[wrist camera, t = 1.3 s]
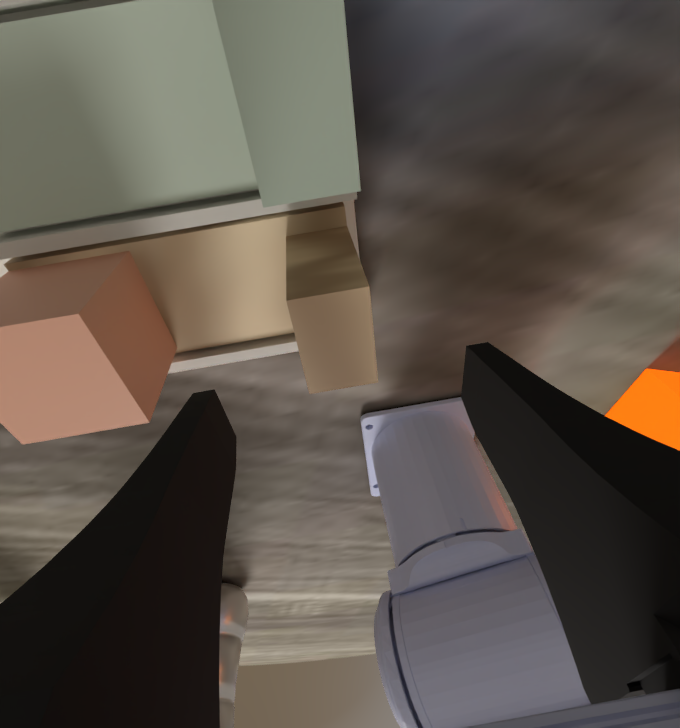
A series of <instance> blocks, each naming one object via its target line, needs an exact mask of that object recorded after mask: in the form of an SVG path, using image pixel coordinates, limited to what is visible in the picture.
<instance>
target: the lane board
mask: <svg viewBox="0 0 680 728" xmlns="http://www.w3.org/2000/svg"><path fill="white" fill-rule="evenodd" d="M131 1H137V0H0V23H5V22H11V21H17V20H23V19H29V18H35V17H41V16H47V15H53V14H59V13H65V12H71V11H77V10H83V9H89V8H95V7H101V6H107V5H113V4H119V3H125V2H131ZM355 199H357V192H353V193H347V194H341V195H335V196H329V197H323V198H317V199H312V200H306V201H300V202H294V203H288V204H282V205H276V206H270V207H264V208H263V205H262V201H261V197H260V193H259V189H253V190H248V191H242V192H236V193H230V194H224V195H218V196H212V197H206V198H200V199H194V200H189V201H183V202H177V203H171V204H165V205H159V206H153V207H147V208H141V209H135V210H130V211H124V212H118V213H112V214H106V215H100V216H94V217H88V218H82V219H77V220H71V221H65V222H59V223H53V224H47V225H41V226H35V227H29V228H23V229H18V230H12V231H6V232H0V277H2V276H3V275H4V274H6V273H7V272H8V270H7V269H6V267H5V266H4V265H3V264H5V263H6V262H8V261H9V260H10V259H12V258H14V257H20V256H26V255H32V254H38V253H44V252H50V251H56V250H61V249H67V248H73V247H79V246H85V245H91V244H97V243H103V242H108V241H114V240H120V239H126V238H132V237H138V236H144V235H150V234H155V233H161V232H167V231H173V230H179V229H185V228H191V227H197V226H203V225H208V224H214V223H220V222H226V221H232V220H238V219H244V218H250V217H255V216H261V215H267V214H273V213H279V212H285V211H291V210H297V209H303V208H308V207H314V206H320V205H326V204H332V203H338V202H343V203H344V206H345V213H346V221H347V227H348V230H349V233H350V235H351V238H352V241H353V243H354V246H355V249H356V251H357V254H358V257H359V248H358V238H357V228H356V218H355V209H354V200H355ZM359 259H360V257H359ZM296 351H299V350H298V346H297V342H296V338H295V334H294V333H290V334H284V335H278V336H272V337H267V338H261V339H255V340H249V341H243V342H238V343H232V344H226V345H220V346H214V347H208V348H203V349H197V350H191V351H185V352H179V353H175V355H174V358H173V361H172V363H171V366H170V369H169V371H168V373H174V372H180V371H186V370H192V369H198V368H203V367H209V366H215V365H221V364H227V363H232V362H238V361H244V360H250V359H256V358H261V357H267V356H273V355H279V354H285V353H290V352H296Z"/></svg>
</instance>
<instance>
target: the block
mask: <svg viewBox="0 0 680 728" xmlns="http://www.w3.org/2000/svg"><path fill="white" fill-rule="evenodd" d="M176 350H177V346H176V344H175V342H174V340H173V338H172V336H171V334H170V332H169V330H168V328H167V326H166V324H165V322H164V320H163V318H162V316H161V314H160V312H159V310H158V308H157V306H156V304H155V302H154V300H153V298H152V296H151V294H150V292H149V290H148V288H147V285H146V283H145V281H144V279H143V277H142V275H141V273H140V271H139V269H138V267H137V265H136V263H135V261H134V259H133V257H132V255H131V253H130V251H125V252H119V253H113V254H107V255H101V256H95V257H90V258H84V259H78V260H72V261H66V262H60V263H54V264H48V265H43V266H37V267H31V268H25V269H19V270H13V271H8V272H7V273H6V274H4V275H3V276H2V277H0V423H1V424H2V425H3V426H4V427H5V428H6V429H7V430H8V431H9V432H10V433H11V434H12V435H13V436H14V437H15V438H17V439H18V440H19V441H20V442H21V443H22V444H28V443H34V442H40V441H46V440H52V439H57V438H63V437H69V436H75V435H80V434H86V433H92V432H98V431H104V430H109V429H115V428H121V427H127V426H132V425H138V424H144V423H149V422H150V420H151V417H152V414H153V412H154V409H155V406H156V404H157V401H158V398H159V396H160V393H161V390H162V388H163V385H164V382H165V379H166V377H167V374H168V371H169V369H170V366H171V363H172V361H173V358H174V355H175V353H176Z"/></svg>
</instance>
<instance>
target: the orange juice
mask: <svg viewBox="0 0 680 728" xmlns="http://www.w3.org/2000/svg"><path fill="white" fill-rule="evenodd" d="M605 416H606V417H608V418H610V419H612V420H614V421H616V422H618V423H620V424H622V425H624V426H626V427H628V428H630V429H632V430H634V431H636V432H638V433H640V434H643V435H645V436H647V437H649V438H651V439H654V440H656V441H658V442H661V443H663V444H665V445H668V446H670V447H672V448H675V449H677V450H680V373H679V372H671V371H663V370H654V369H645V371H644V372H643V373H642V374H641V375H640V376H639V377H638V379H637V380H636V381H635V382H634V383H633V384H632V385H631V387H630V388H629V389H628V390H627V391H626V392H625V393H624V395H623V396H622V397H621V398H620V399H619V400H618V401H617V403H616V404H615V405H614V406H613V407H612V408H611V409H610V411H609V412H608V413H607V414H606V415H605Z"/></svg>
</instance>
